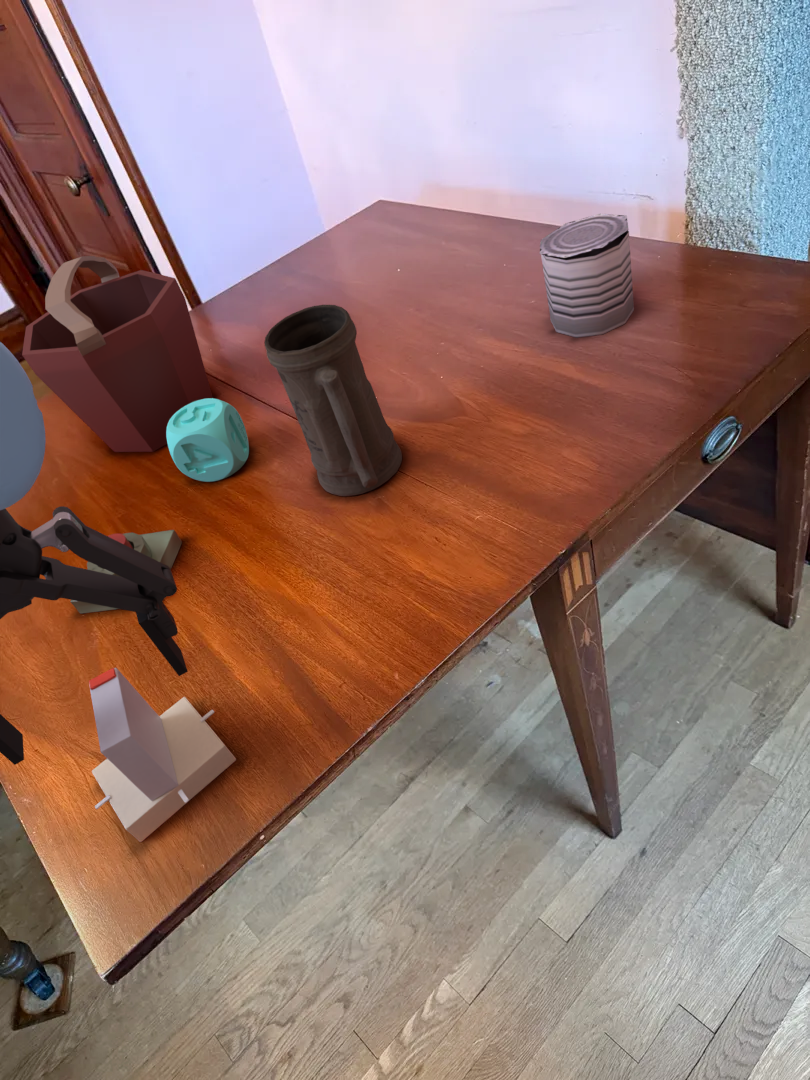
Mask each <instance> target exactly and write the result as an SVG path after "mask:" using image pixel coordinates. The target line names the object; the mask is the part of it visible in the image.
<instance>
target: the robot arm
mask: <svg viewBox="0 0 810 1080" xmlns="http://www.w3.org/2000/svg"><path fill="white" fill-rule="evenodd" d="M45 428H46V427H45V421H44V416H43V412H42V410H41V409H40V407H39V406H38V400H37V398H36V396H35V394H34V386H33V384H32V381H31V380H30V378H29V376H28V374H27V372H26V370H25V369H24V368H23V366H22V364H21V363H20V361H19V360H18V359H17V357H15V355H14V354H13V353H12V352H11V350H10V349H8V347H6V345H4V343H2V342H1V341H0V620H1V619H3V618H4V617H5V616H6V615H7V614H9V613H13V612H16V611H20V610H23V609H25V608H27V607H28V606H31V605H32V604H33V603H32V600H33V599H35V598H38V599H42V600H43V599H44V600H47V601H58V600H59V599H65V600H70V601H71V600H75V601H80V602H86V603H91V604H96V605H101V606H107V607H112V608H117V609H116V610H123V611H128V612H134V613H135V615H136V619H137V623H138V625H139V626H140V627H141V628H142V630H143V632H145V634H146V635H147V637H148V638H149V639H150V640H151V642H152V643H153V644H154V646H155V647H156V648H157V649H158V651H159V652H160V653H161V655H162V656H163V657H164V659H165V660H166V662H167V663H168V664H169V666H170V667H171V668H172V669H173V670H174V672H175V673H176V674H177V676H178V677H180V676H183V675H185V674H187V673H188V671H189V670H188V667H187V665H186V661H185V657H184V655H183V652H182V649H181V648H180V647H179V645H178V644H177V642H176V641H175V639H173V637H174V636H176V635H178V634H179V632H178V627H177V623H176V620H175V617H174V615H173V614H172V613H171V611H170V610H169V609H168V607H167V605H166V604H165V603H164V601H165V599H166V598H167V597H172V596H174V595H175V594H176V593H177V591H178V587H177V584H176V580H175V578H174V575H173V571H172V568H171V569H170V567H168V566H167V565H165V564H163V563H161V562H159V561H156V560H154V559H152V558H150V557H148V556H146V555H144V554H142V553H140V552H138V551H136V550H134V549H132V548H130V547H128V546H126V545H124V544H122V543H120V542H118V541H116V540H114V539H112V538H110V537H108V536H109V535H107V534H104V533H102V532H99V531H98V530H95V529H94V528H92V527H89V526H88V525H86V524H85V523H84V522H83V521H82V520H81V519H80V518H79V517H78V516H77V515H76V513H74V511H72V509H70V508H69V507H68V506H64V505H63V506H62V505H61V506H58V507H56V508H54V510H53V511H52V518H51V519H50V520H48V521H47V522H45V523H43V524H42V525H40V526H39V527H37V528H35V529H34V530H31V529H27V528H26V527H24V526H21V525H20V524H19V523H18V522H17V521H16V520H15V518H14V517H13V516H12V514H11V513H10V512H9V511H8V510H7V509H8V508H10V507H12V506H14V505H15V504H17V503H18V502H19V501H20V500H22V499H23V498H24V497H25V496H26V495H27V494H28V493H29V492H30V490H31V489H32V488H33V486H34V484H35V483H36V481H37V479H38V477H39V475H40V473H41V470H42V466H43V464H44V459H45V454H46V453H45V452H46V441H47V440H46V439H47V438H46V429H45ZM47 547H52V548H55V549H57V550H59V551H60V552H62V553H67V552H69V551H71V553H73V554H75V555H76V556H77V557H78V558H81V559H83V560H85V561H87V562H88V561H89V562H91V563H93V564H95V565H97V566H99V567H102V568H104V569H106V570H108V571H110V572H113V573H115V574H117V575H119V576H115V575H110V574H106V573H101V572H97V571H92V570H87V569H88V568H82V567H78V566H74V565H69V564H65V563H63V562H62V561H61V560H59V559H57V558H53V557H49V556H45V555H43V549H44V548H47ZM41 576H43V577H44V578H41ZM120 576H121V577H120ZM24 752H25V750H24V735H23V733H22V732H21V731H20V730H19V729H18V728H17V727H15V726H14V725H13V724H12V723H11V722H10V721H8V719H7V718H5V717H4V716H3V715H2V714H1V713H0V754H2V756H4V757H5V758H6V759H7V760H8V761H10V763H12V764H13V765H14V766H15V765H17V764H19V763H22V762H23V761H24V760H25V753H24Z"/></svg>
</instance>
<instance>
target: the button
mask: <svg viewBox="0 0 810 1080" xmlns="http://www.w3.org/2000/svg"><path fill="white" fill-rule="evenodd" d="M123 534H124V533H119V532H118V533H117V532H116V533H112V534H109V535H107V536H108V537H110V538H112V539H114V540H116V541H118V542H120V543H122V544H124V545H126V546H128V547H130V548H132V549H133V547H132V545H131V544H130V543H129V541H128V540H127V538H126V537H125V536H124V535H123Z"/></svg>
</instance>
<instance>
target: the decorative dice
mask: <svg viewBox="0 0 810 1080" xmlns="http://www.w3.org/2000/svg"><path fill="white" fill-rule="evenodd" d="M166 437H167V444H166V445H167V448H168V451H169V454H170V456H171V459H172V461H173V463H174V465H175V466H176V468H177V469H178V470H179V471H180V472H181V473H182V474H183V475H185V476H186V477H189V479H193V480H196V481H199V482H206V483H212V482H219V481H222V480H224V479H226V478H228V477H231V476H232V475H234V474H236V473H237V472H239V471H240V469H241V468H243V466H244V465H245V464H246V462H247V460H248V458H249V454H250V445H249V443H250V442H249V437H248V433H247V429H246V426H245V423H244V421H243V419H242V416H241V415H240V413H239V411H238V410H237V409H236V408H235V406H233V405H232V404H231V403H228V402H226V401H224V400H221V399H219V398H214V397H213V398H206V399H201V400H197V401H194V402H192V403H190V404H188V405H186V406H184V407H182V408H181V409H180V410H178V411H177V412H176V413H175V414H174V415H173V416H172V417H171V418H170V420H169V422H168V425H167V430H166Z"/></svg>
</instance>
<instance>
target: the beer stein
mask: <svg viewBox="0 0 810 1080" xmlns="http://www.w3.org/2000/svg"><path fill="white" fill-rule="evenodd" d="M357 333H358V331H357V327H356V324H355V322H354V321H353V319H352V317H351V315H350V313H349V312H348V310H346V309H345V308H344V307H342V306H340V305H337V304H318V305H311V306H309V307H305V308H302V309H300V310H298V311H295V312H293V313H291V314H289V315H287V316H285V317H284V318H282V319H281V320H279V321H278V322H277V323H275V324H274V325H273V326H272V327H271V328H270V329H269V330H268V331H267V334H266V336H265V337H264V341H263V342H264V343H263V344H264V348H265V351H266V352H265V353H266V357H267V359H268V362H269V363H270V365H271V366H272V367H274V368H275V369H276V371H277V373H278V376H279V378H280V380H281V383H282V385H283V387H284V390H285V392H286V395H287V396H288V400H289V402H290V405H291V407H292V410H293V411H294V414H295V417H296V419H297V421H298V424H299V426H300V428H301V432H302V434H303V437H304V440H305V442H306V445H307V447H308V451H309V452H310V461H311V463H312V465H313V467H314V470H316V475H317V479H318V482H319V484H320V486H321V487H322V489H323V490H324V491H325V492H327V493H329V494H332V495H336V496H340V497H351V496H357V495H362V494H365V493H368V492H371V491H374V490H376V489H377V488H379V487H381V486H382V485H384V484H385V483H386V482H388V481H389V480H390V479H391V478H392V477H393V476H394V475H395V474H397V472H398V470H399V468H400V467H401V464H402V462H403V454H402V450H401V448H400V446H399V444H398V442H397V441H396V440H395V436H394V432H393V429H392V428H391V427H390V426H389V424H388V423H387V422H386V419H385V417H384V415H383V412H382V409H381V407H380V403H379V401H378V399H377V395H376V392H375V390H374V388H373V386H372V383H371V382H370V380H368V376H367V374H366V370H365V367H364V363H363V361H362V358H361V355H360V352H359V350H358V347H357V344H356V340H357Z"/></svg>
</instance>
